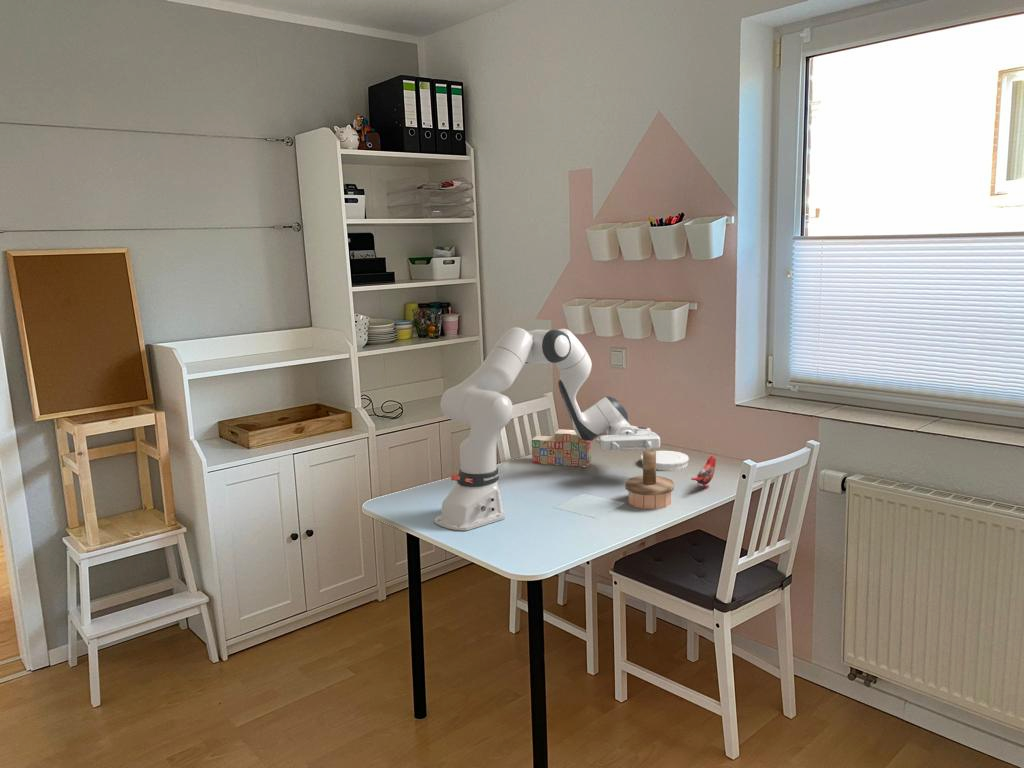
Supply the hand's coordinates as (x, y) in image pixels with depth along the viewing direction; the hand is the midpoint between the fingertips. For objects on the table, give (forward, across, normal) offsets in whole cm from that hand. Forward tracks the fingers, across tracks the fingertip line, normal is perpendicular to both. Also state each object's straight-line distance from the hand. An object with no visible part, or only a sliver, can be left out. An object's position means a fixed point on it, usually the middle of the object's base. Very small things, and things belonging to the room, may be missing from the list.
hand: (634, 447), depth 252 cm
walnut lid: (+12, +2, +10) cm, 16 cm away
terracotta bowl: (+12, +2, +15) cm, 19 cm away
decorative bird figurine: (+3, +22, +14) cm, 27 cm away
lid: (-29, +18, +14) cm, 37 cm away
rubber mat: (+12, -17, +15) cm, 26 cm away
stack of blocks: (-36, -19, +15) cm, 44 cm away
